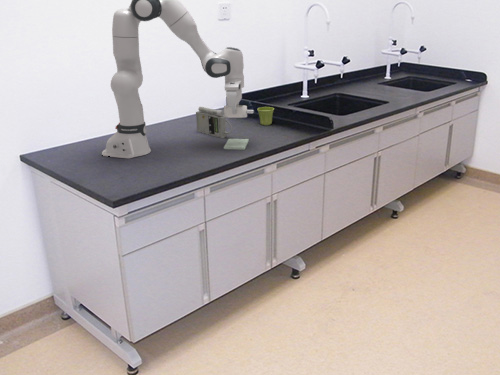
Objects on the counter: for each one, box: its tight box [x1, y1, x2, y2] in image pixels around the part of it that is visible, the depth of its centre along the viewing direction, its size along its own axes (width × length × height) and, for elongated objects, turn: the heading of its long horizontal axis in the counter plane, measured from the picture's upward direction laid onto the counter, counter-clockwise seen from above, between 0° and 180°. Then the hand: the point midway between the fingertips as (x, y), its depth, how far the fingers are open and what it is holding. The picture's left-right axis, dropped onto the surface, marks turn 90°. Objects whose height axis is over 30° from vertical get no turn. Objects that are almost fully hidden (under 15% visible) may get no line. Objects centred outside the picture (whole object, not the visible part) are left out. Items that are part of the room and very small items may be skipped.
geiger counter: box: [195, 106, 233, 139], centre depth 257 cm, size 14×6×25 cm
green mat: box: [223, 138, 250, 151], centre depth 242 cm, size 10×14×1 cm
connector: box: [223, 104, 255, 119], centre depth 235 cm, size 14×4×5 cm, turn 82°
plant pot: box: [256, 106, 275, 126], centre depth 275 cm, size 9×9×9 cm
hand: (235, 112), depth 236 cm, fingers closed on connector, 4 cm apart
